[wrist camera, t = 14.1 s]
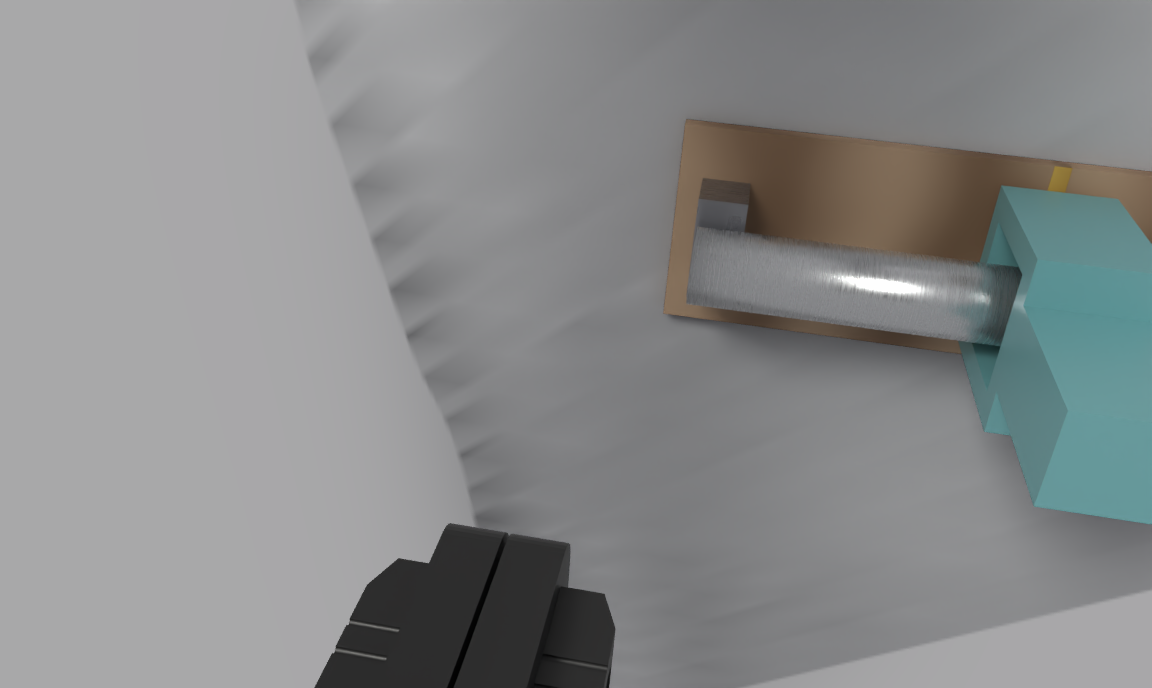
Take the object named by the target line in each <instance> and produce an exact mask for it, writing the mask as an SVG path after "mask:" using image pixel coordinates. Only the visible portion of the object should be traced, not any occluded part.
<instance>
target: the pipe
mask: <svg viewBox="0 0 1152 688" xmlns="http://www.w3.org/2000/svg"><path fill="white" fill-rule="evenodd" d="M749 194H750V183H742V182H734V181H725V180H717V179H709V178H703V180H702V185H701V189H700V194H699V199H698V207H697V215H696V223H695V231H694V239H693V246H692V254H691V262H690V270H689V278H688V286H687V294H686V297H687V300H686V304H690V305H698V306H705V307H712V308H720V309H727V310H735V311H742V312H750V313H757V314H764V315H772V316H779V317H787V318H794V319H801V320H809V321H816V322H824V323H831V324H838V325H846V326H853V327H861V328H868V329H875V330H883V331H890V332H898V333H905V334H913V335H920V336H927V337H935V338H942V339H950V340H957V341H964V342H972V343H979V344H987V345H994V346H1001V344H1002V340H1003V337H1004V334H1005V330H1006V327H1007V324H1008V321H1009V317H1010V314H1011V311H1012V307H1013V304H1014V301H1015V298H1016V294H1017V291H1018V288H1019V285H1020V281H1021V278H1022V273H1021V270H1020V268H1019V267H1016V266H1008V265H1000V264H992V263H984V262H976V261H968V260H960V259H952V258H944V257H936V256H928V255H920V254H912V253H904V252H896V251H888V250H880V249H872V248H864V247H856V246H848V245H840V244H832V243H824V242H816V241H808V240H801V239H793V238H785V237H777V236H769V235H761V234H753V233H745V232H744V231H745V224H746V218H747V211H748V204H749Z"/></svg>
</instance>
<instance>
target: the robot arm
mask: <svg viewBox="0 0 1152 688" xmlns="http://www.w3.org/2000/svg"><path fill="white" fill-rule="evenodd" d="M569 566H570V544H569V543H564V542H558V541H552V540H546V539H540V538H534V537H528V536H522V535H516V534H511V535H510V536H509V535H508V533H506V532H500V531H494V530H488V529H482V528H475V527H469V526H463V525H457V524H451V523H450V524H448V525H447V526H446V528H445V529H444V531H443V533H442V536H441V538H440V540H439V542H438V545H437V547H436V549H435V551H434V554H433V556H432V558H431V560H430V562H429V563H423V562H417V561H411V560H406V559H405V560H404V559H400V558H399V559H397V560H396V561H395V562H394V563H392V564H391V565H390V566H389V567H388V568H387V569H385V570H384V571H383V572H382V573H381V574H379V575H378V576H377V577H376V578H375V579H374V580H372V581H371V582H370V583H369V584H368V585H367V586H366V588H365V590H364V592H363V594H362V596H361V598H360V600H359V602H358V604H357V606H356V608H355V609H354V611H353V613H352V616H351V617H350V622H349V625H346V627H345V629H344V631H343V633H342V635H341V637H340V639H339V641H338V643H337V645H336V649H335V653H332V655H331V656H330V658H329V660H328V662H327V664H326V666H325V668H324V670H323V672H322V674H321V676H320V678H319V680H318V682H317V684H316V686H315V688H609V684H610V674H611V665H612V656H613V647H614V637H615V626H614V623H613V619H612V616H611V613H610V610H609V607H608V604H607V601H606V598H605V594H602V593H596V592H591V591H585V590H579V589H573V588H568V580H569Z"/></svg>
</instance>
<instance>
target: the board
mask: <svg viewBox="0 0 1152 688" xmlns="http://www.w3.org/2000/svg"><path fill="white" fill-rule="evenodd" d="M703 178H709V179H717V180H725V181H734V182H742V183H750V194H749V204H748V211H747V218H746V224H745V231H744V232H745V233H753V234H761V235H769V236H777V237H785V238H793V239H801V240H808V241H816V242H824V243H832V244H840V245H848V246H856V247H864V248H872V249H880V250H888V251H896V252H904V253H912V254H920V255H928V256H936V257H944V258H952V259H960V260H968V261H976V262H980V259H981V256H982V252H983V249H984V245H985V242H986V238H987V234H988V231H989V227H990V224H991V220H992V217H993V213H994V209H995V206H996V202H997V199H998V195H999V192H1000V188H1001V185H1002V186H1011V187H1019V188H1028V189H1037V190H1045V191H1054V192H1062V193H1071V194H1080V195H1088V196H1097V197H1105V198H1114V199H1119V201H1120V202H1121V203H1122V205H1123V206H1124V207H1125V209H1126V210H1127V211H1128V213H1129V214H1130V216H1131V217H1132V218H1133V220H1134V221H1135V222H1136V224H1137V225H1138V226H1139V228H1140V229H1141V230H1142V232H1143V233H1144V234H1145V236H1146V237H1147V238H1148V240H1149V241H1150V243H1151V244H1152V172H1150V171H1141V170H1132V169H1123V168H1114V167H1105V166H1096V165H1088V164H1079V163H1070V162H1061V161H1052V160H1043V159H1034V158H1026V157H1017V156H1008V155H999V154H990V153H981V152H972V151H964V150H955V149H946V148H937V147H928V146H919V145H910V144H902V143H893V142H884V141H875V140H866V139H857V138H848V137H840V136H831V135H822V134H813V133H804V132H795V131H786V130H778V129H769V128H760V127H751V126H742V125H733V124H724V123H716V122H707V121H698V120H689V119H686V123H685V130H684V139H683V147H682V156H681V165H680V173H679V182H678V191H677V199H676V208H675V217H674V225H673V234H672V243H671V251H670V260H669V269H668V277H667V286H666V295H665V303H664V312H663V313H664V314H671V315H678V316H686V317H693V318H700V319H708V320H715V321H722V322H730V323H737V324H744V325H752V326H759V327H766V328H774V329H781V330H788V331H796V332H803V333H810V334H818V335H825V336H832V337H840V338H847V339H854V340H862V341H869V342H876V343H884V344H891V345H898V346H906V347H913V348H920V349H928V350H935V351H942V352H950V353H957V354H962V353H961V349H960V346H959V342H958V341H957V340H950V339H942V338H935V337H927V336H920V335H913V334H905V333H898V332H890V331H883V330H875V329H868V328H861V327H853V326H846V325H838V324H831V323H824V322H816V321H809V320H801V319H794V318H787V317H779V316H772V315H764V314H757V313H750V312H742V311H735V310H727V309H720V308H712V307H705V306H698V305H690V304H686V300H687V297H686V294H687V286H688V278H689V270H690V262H691V254H692V246H693V239H694V231H695V223H696V215H697V207H698V199H699V194H700V189H701V185H702V180H703Z"/></svg>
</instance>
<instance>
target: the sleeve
mask: <svg viewBox="0 0 1152 688" xmlns="http://www.w3.org/2000/svg"><path fill="white" fill-rule="evenodd" d="M980 262H984V263H992V264H1000V265H1008V266H1016V267H1019V268H1020V270H1021V273H1022V278H1021V281H1020V285H1019V288H1018V291H1017V294H1016V298H1015V301H1014V304H1013V307H1012V311H1011V314H1010V317H1009V321H1008V324H1007V327H1006V330H1005V334H1004V337H1003V340H1002V344H1001V346H994V345H987V344H979V343H972V342H964V341H958V342H959V346H960V349H961V353H962V356H963V360H964V363H965V367H966V370H967V374H968V377H969V381H970V384H971V388H972V391H973V395H974V398H975V402H976V405H977V409H978V412H979V416H980V419H981V423H982V426H983V430H984V432H990V433H996V434H1003V435H1010V436H1011V438H1012V441H1013V444H1014V447H1015V450H1016V453H1017V456H1018V459H1019V462H1020V465H1021V468H1022V471H1023V474H1024V478H1025V481H1026V484H1027V487H1028V490H1029V493H1030V496H1031V499H1032V502H1033V505H1034V507H1041V508H1047V509H1054V510H1060V511H1067V512H1073V513H1080V514H1087V515H1093V516H1100V517H1106V518H1113V519H1119V520H1126V521H1132V522H1139V523H1145V524H1152V244H1151V243H1150V241H1149V240H1148V238H1147V237H1146V236H1145V234H1144V233H1143V232H1142V230H1141V229H1140V228H1139V226H1138V225H1137V224H1136V222H1135V221H1134V220H1133V218H1132V217H1131V216H1130V214H1129V213H1128V211H1127V210H1126V209H1125V207H1124V206H1123V205H1122V203H1121V202H1120V201H1119V199H1114V198H1105V197H1097V196H1088V195H1080V194H1071V193H1062V192H1054V191H1045V190H1037V189H1028V188H1019V187H1011V186H1002V185H1001V188H1000V192H999V195H998V199H997V202H996V206H995V209H994V213H993V217H992V220H991V224H990V227H989V231H988V234H987V238H986V242H985V245H984V249H983V252H982V256H981V259H980Z"/></svg>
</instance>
